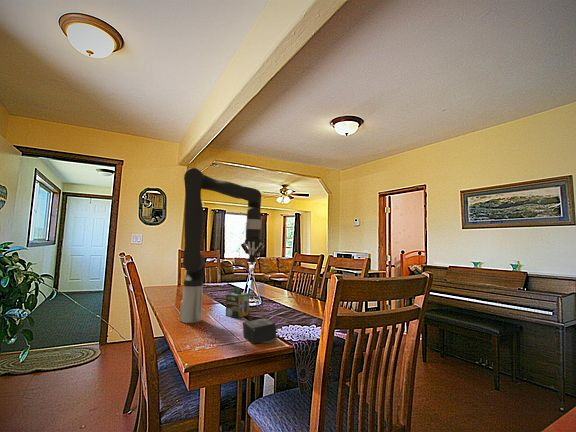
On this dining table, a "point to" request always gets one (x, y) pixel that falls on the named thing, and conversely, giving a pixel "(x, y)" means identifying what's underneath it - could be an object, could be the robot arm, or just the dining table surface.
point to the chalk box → (237, 304)
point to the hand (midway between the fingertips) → (252, 262)
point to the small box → (259, 330)
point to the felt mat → (270, 339)
